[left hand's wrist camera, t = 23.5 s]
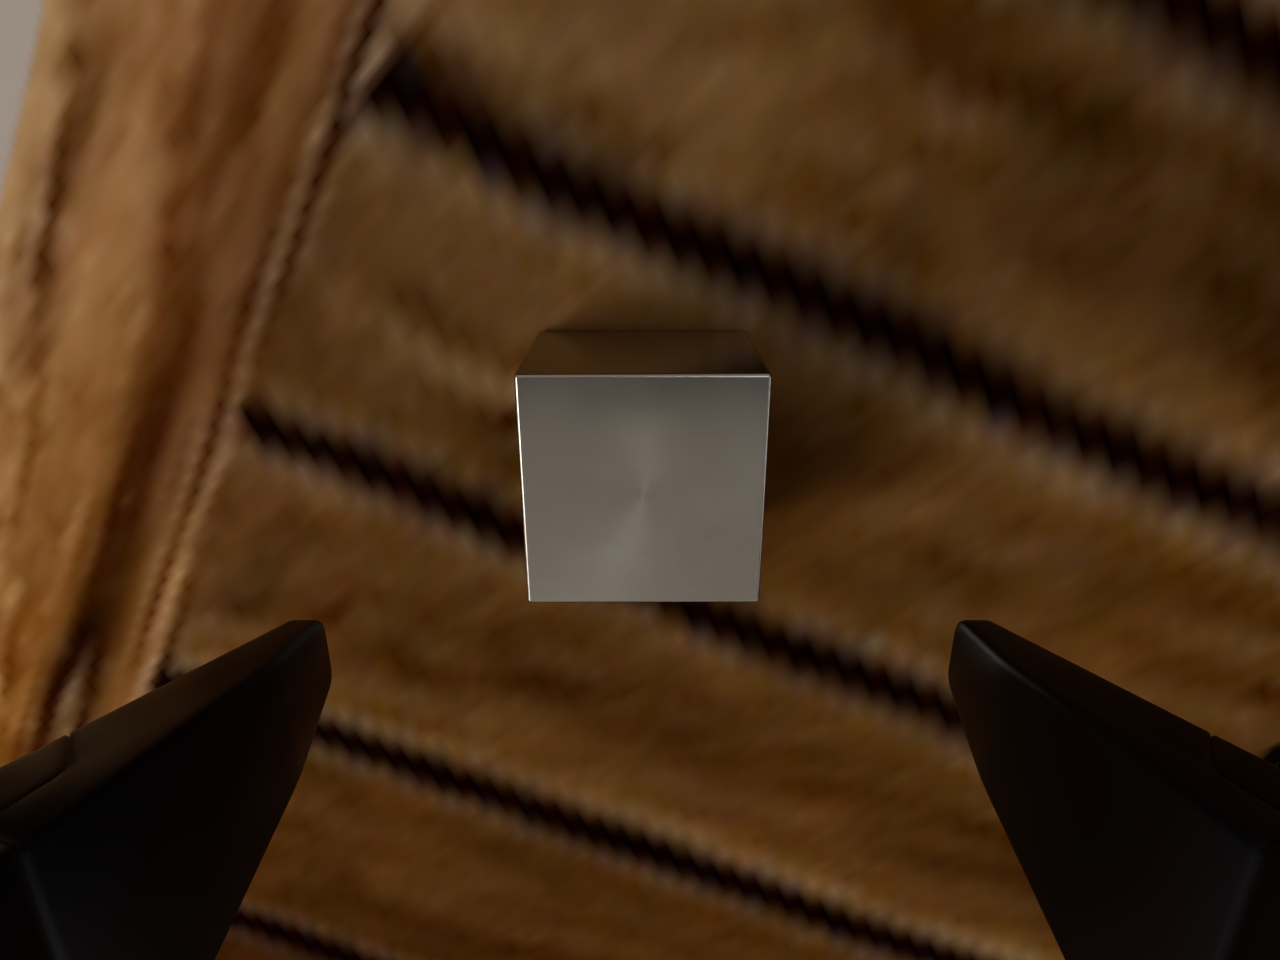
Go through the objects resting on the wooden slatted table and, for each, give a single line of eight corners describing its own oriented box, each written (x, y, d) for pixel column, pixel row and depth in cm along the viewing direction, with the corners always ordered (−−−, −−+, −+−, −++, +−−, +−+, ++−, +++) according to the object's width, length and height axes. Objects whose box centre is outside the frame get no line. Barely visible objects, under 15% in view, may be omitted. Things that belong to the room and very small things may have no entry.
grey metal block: (746, 329, 20) (772, 373, 16) (738, 522, 22) (759, 603, 18) (538, 331, 20) (513, 375, 16) (547, 522, 22) (527, 604, 18)
